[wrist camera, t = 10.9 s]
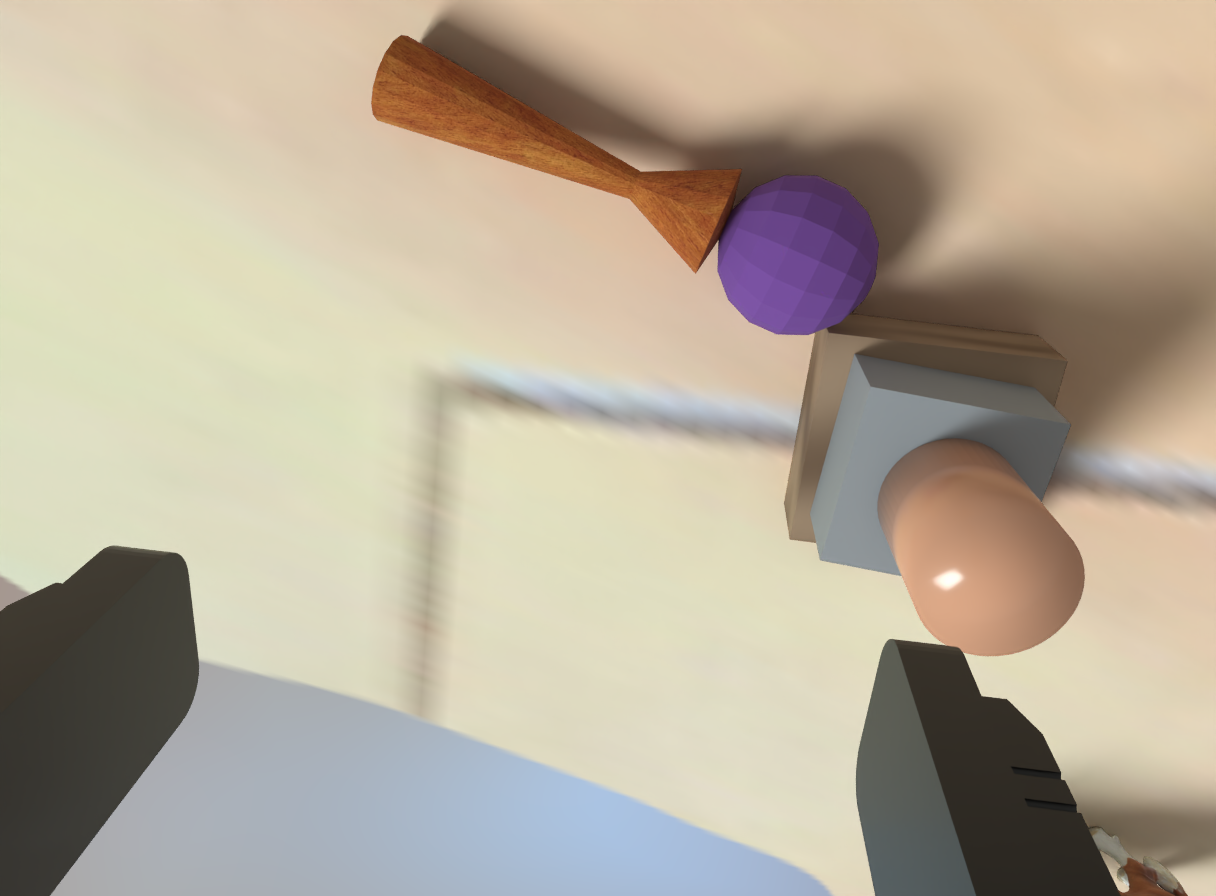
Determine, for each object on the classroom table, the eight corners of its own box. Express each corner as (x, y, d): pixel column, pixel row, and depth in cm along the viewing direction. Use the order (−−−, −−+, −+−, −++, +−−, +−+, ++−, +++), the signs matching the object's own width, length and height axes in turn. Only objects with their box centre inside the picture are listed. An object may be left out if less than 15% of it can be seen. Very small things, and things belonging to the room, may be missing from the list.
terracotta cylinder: (894, 429, 34) (934, 499, 28) (1037, 448, 33) (1106, 523, 28) (864, 554, 35) (896, 643, 30) (999, 573, 35) (1057, 666, 30)
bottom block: (818, 307, 40) (828, 332, 37) (1034, 332, 40) (1067, 360, 36) (783, 498, 44) (789, 539, 40) (982, 524, 43) (1007, 567, 40)
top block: (854, 353, 37) (870, 386, 33) (1034, 387, 37) (1071, 424, 33) (809, 513, 40) (820, 560, 36) (977, 545, 39) (1005, 596, 36)
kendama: (394, -22, 33) (921, 208, 33) (441, 22, 39) (889, 218, 39) (336, 142, 35) (844, 366, 34) (390, 161, 40) (824, 352, 40)
